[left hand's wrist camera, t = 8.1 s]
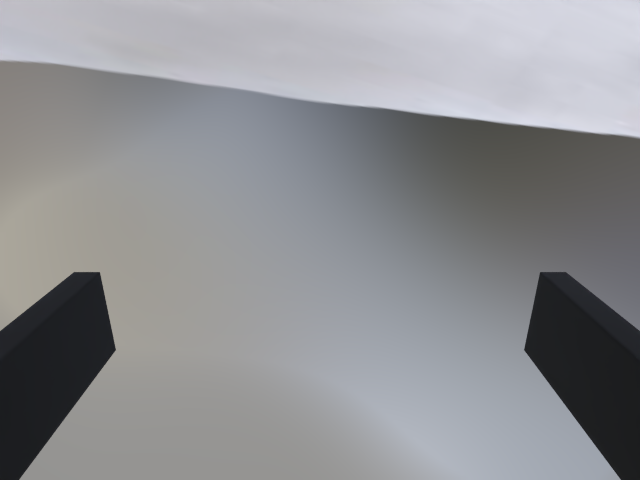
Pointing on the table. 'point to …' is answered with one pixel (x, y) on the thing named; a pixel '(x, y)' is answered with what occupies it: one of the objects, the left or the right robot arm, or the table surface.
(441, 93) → the table surface
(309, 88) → the table surface
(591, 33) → the table surface
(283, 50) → the table surface
